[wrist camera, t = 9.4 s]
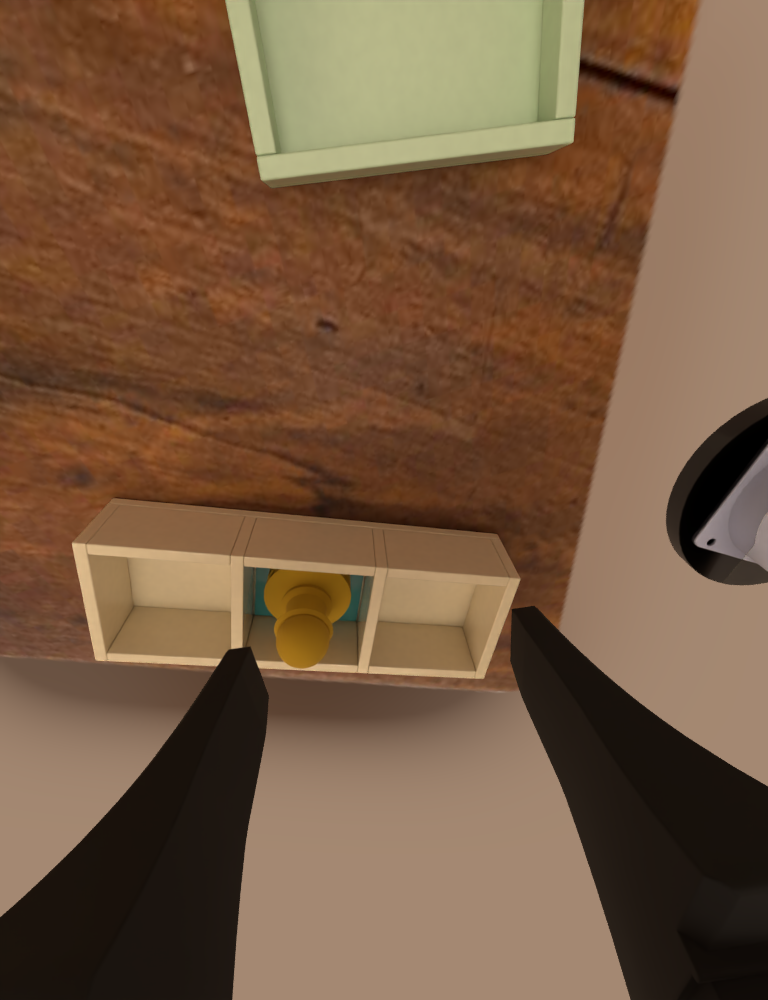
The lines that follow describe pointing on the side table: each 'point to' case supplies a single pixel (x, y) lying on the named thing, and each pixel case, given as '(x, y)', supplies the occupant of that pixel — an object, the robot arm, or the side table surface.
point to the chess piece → (305, 612)
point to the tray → (404, 83)
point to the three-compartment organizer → (290, 546)
